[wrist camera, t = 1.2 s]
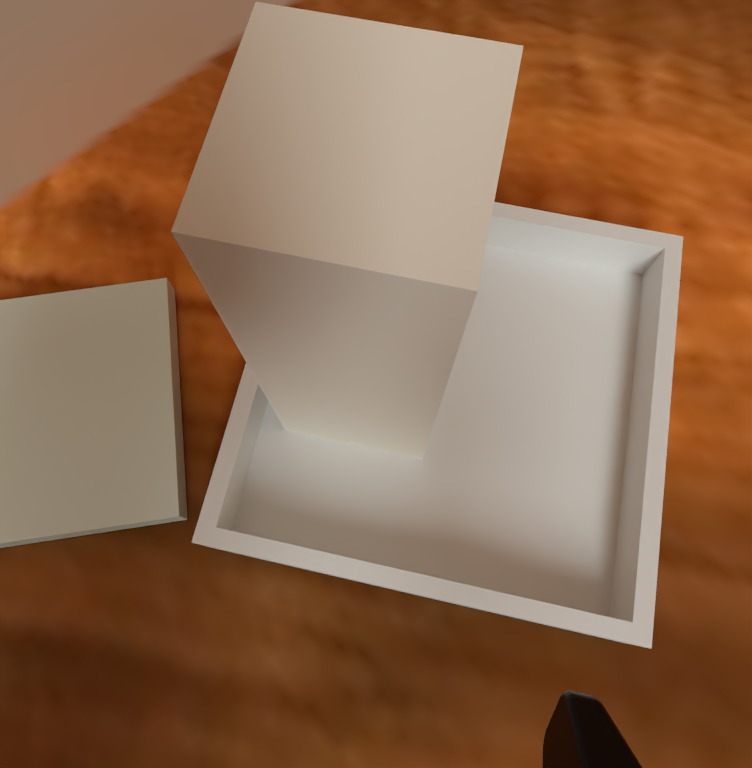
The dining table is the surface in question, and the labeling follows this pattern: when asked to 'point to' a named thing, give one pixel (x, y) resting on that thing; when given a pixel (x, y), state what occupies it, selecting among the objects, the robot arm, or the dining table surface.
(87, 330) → the board
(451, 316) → the carton
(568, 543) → the parts tray
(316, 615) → the dining table surface
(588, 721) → the robot arm
